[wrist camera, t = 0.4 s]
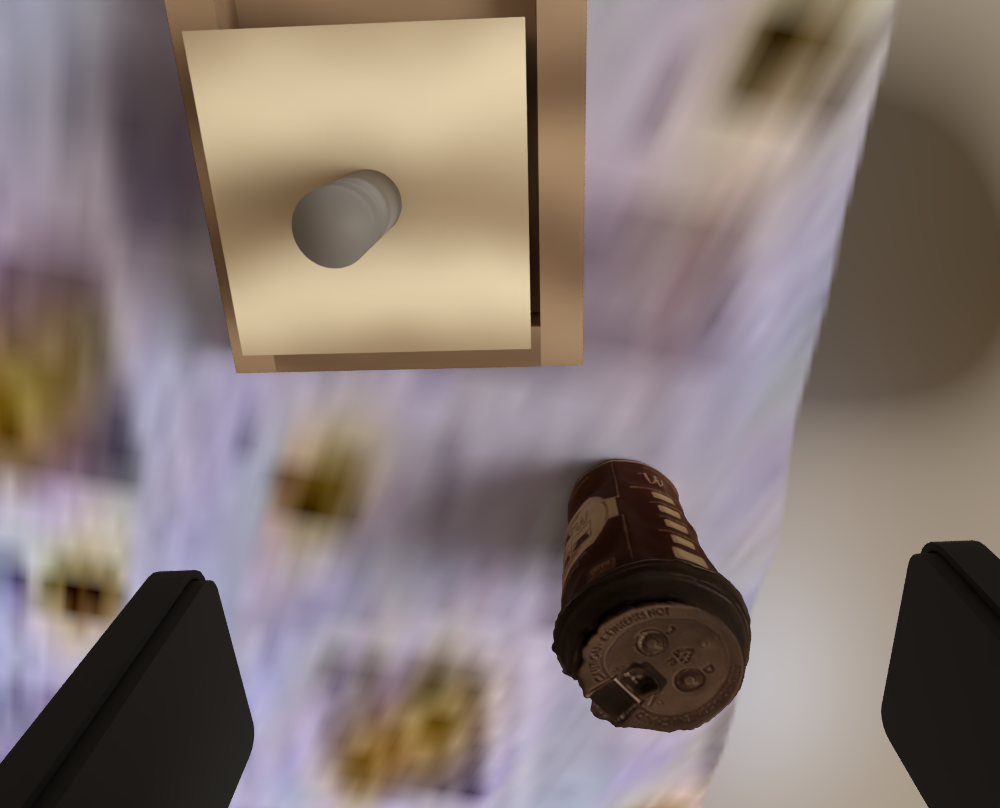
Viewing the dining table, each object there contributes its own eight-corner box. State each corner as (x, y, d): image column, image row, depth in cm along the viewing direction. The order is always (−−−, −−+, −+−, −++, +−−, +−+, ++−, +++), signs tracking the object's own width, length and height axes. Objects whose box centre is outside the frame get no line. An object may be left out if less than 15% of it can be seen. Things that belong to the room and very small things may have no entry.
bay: (147, -279, 28) (100, -326, 25) (583, -306, 27) (591, -357, 24) (259, 351, 38) (236, 373, 35) (577, 343, 37) (582, 365, 34)
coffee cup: (546, 567, 43) (555, 748, 31) (541, 445, 40) (550, 593, 28) (691, 563, 42) (757, 744, 31) (698, 439, 39) (776, 587, 27)
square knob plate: (251, 45, 31) (84, 11, 19) (524, 34, 31) (526, -8, 19) (292, 310, 36) (178, 414, 24) (529, 303, 35) (533, 407, 23)
